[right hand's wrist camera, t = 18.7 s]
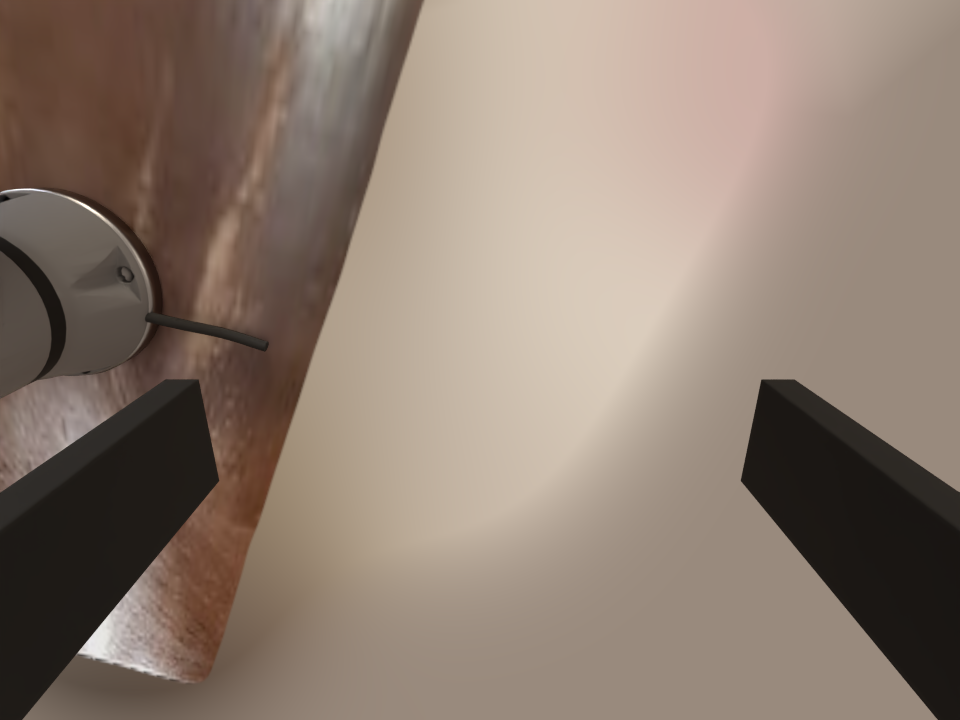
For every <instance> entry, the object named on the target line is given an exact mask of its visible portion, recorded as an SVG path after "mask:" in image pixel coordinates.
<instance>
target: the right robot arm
mask: <svg viewBox="0 0 960 720" xmlns="http://www.w3.org/2000/svg"><path fill="white" fill-rule="evenodd" d="M161 312H162V291H161V285H160V281H159V277H158V274H157V271H156V268H155V266H154V263H153V261H152V259H151V257H150V255H149V253H148V252H147V250H146V248H145V247H144V245H143V244H142V242H141V241H140V240H139V238H138V237H137V236H136V235H135V233H134V232H133V231H132V230H131V229H130V228H129V227H128V226H127V225H126V224H125V223H124V222H123V221H122V220H121V219H120V218H119V217H117V216H116V215H115V214H113V213H112V212H111V211H109V210H108V209H106V208H105V207H103V206H102V205H100V204H98V203H97V202H95V201H93V200H91V199H89V198H86V197H84V196H82V195H79V194H76V193H73V192H69V191H65V190H60V189H54V188H28V189H13V190H7V191H3V192H0V398H2V397H4V396H6V395H8V394H10V393H12V392H14V391H16V390H18V389H20V388H22V387H24V386H26V385H28V384H30V383H32V382H34V381H36V380H41V379H48V378H53V377H57V376H80V375H91V374H97V373H101V372H104V371H107V370H110V369H112V368H114V367H116V366H118V365H120V364H122V363H124V362H125V361H127V360H129V359H131V358H132V357H134V356H136V355H137V354H138V353H139V352H141V351H142V350H143V349H144V348H145V347H146V346H147V345H148V343H149V342H150V341H151V339H152V338H153V336H154V334H155V332H156V330H157V328H158V325H162V326H167V327H171V328H176V329H180V330H185V331H190V332H195V333H200V334H205V335H210V336H215V337H219V338H223V339H227V340H230V341H234V342H237V343H240V344H243V345H246V346H249V347H252V348H255V349H258V350H262V351H266V350H267V348H268V342H267V341H264V340H261V339H258V338H255V337H252V336H249V335H246V334H242V333H239V332H236V331H232V330H229V329H225V328H221V327H217V326H213V325H208V324H203V323H198V322H193V321H188V320H184V319H179V318H175V317H170V316H166V315H162V314H161ZM218 482H219V477H218V473H217V468H216V463H215V458H214V453H213V448H212V443H211V438H210V433H209V429H208V424H207V419H206V414H205V409H204V404H203V399H202V394H201V389H200V384H199V380H164V381H163V382H161V383H160V384H158V385H157V386H156V387H154V388H153V389H151V390H150V391H148V392H147V393H145V394H144V395H142V396H141V397H139V398H138V399H137V400H135V401H134V402H132V403H131V404H129V405H128V406H126V407H125V408H123V409H122V410H120V411H119V412H118V413H116V414H115V415H113V416H112V417H110V418H109V419H107V420H106V421H104V422H103V423H101V424H100V425H99V426H97V427H96V428H94V429H93V430H91V431H90V432H88V433H87V434H85V435H84V436H82V437H81V438H80V439H78V440H77V441H75V442H74V443H72V444H71V445H69V446H68V447H66V448H65V449H63V450H62V451H61V452H59V453H58V454H56V455H55V456H53V457H52V458H50V459H49V460H47V461H46V462H44V463H43V464H42V465H40V466H39V467H37V468H36V469H34V470H33V471H31V472H30V473H28V474H27V475H26V476H24V477H23V478H21V479H20V480H18V481H17V482H15V483H14V484H12V485H11V486H9V487H8V488H7V489H5V490H4V491H2V492H1V493H0V720H22V719H23V718H24V717H25V716H26V714H27V713H28V712H29V711H30V710H31V708H32V707H33V706H34V705H35V703H36V702H37V701H38V700H39V699H40V697H41V696H42V695H43V694H44V693H45V691H46V690H47V689H48V688H49V687H50V685H51V684H52V683H53V682H54V681H55V679H56V678H57V677H58V676H59V674H60V673H61V672H62V671H63V670H64V668H65V667H66V666H67V665H68V664H69V662H70V661H71V660H72V659H73V657H74V656H75V655H76V654H77V653H78V651H79V650H80V649H81V648H82V647H83V645H84V644H85V643H86V642H87V640H88V639H89V638H90V637H91V636H92V634H93V633H94V632H95V631H96V630H97V628H98V627H99V626H100V625H101V624H102V622H103V621H104V620H105V619H106V617H107V616H108V615H109V614H110V613H111V611H112V610H113V609H114V608H115V607H116V605H117V604H118V603H119V602H120V600H121V599H122V598H123V597H124V596H125V594H126V593H127V592H128V591H129V590H130V588H131V587H132V586H133V585H134V583H135V582H136V581H137V580H138V579H139V577H140V576H141V575H142V574H143V573H144V571H145V570H146V569H147V568H148V567H149V565H150V564H151V563H152V562H153V560H154V559H155V558H156V557H157V556H158V554H159V553H160V552H161V551H162V550H163V548H164V547H165V546H166V545H167V543H168V542H169V541H170V540H171V539H172V537H173V536H174V535H175V534H176V533H177V531H178V530H179V529H180V528H181V526H182V525H183V524H184V523H185V522H186V520H187V519H188V518H189V517H190V516H191V514H192V513H193V512H194V511H195V509H196V508H197V507H198V506H199V505H200V503H201V502H202V501H203V500H204V499H205V497H206V496H207V495H208V494H209V493H210V491H211V490H212V489H213V488H214V486H215V485H216V484H217V483H218ZM741 482H742V483H743V484H744V485H745V486H746V488H747V489H748V490H749V491H750V493H751V494H752V495H753V496H754V497H755V499H756V500H757V501H758V502H759V503H760V505H761V506H762V507H763V508H764V509H765V511H766V512H767V513H768V514H769V516H770V517H771V518H772V519H773V520H774V522H775V523H776V524H777V525H778V526H779V528H780V529H781V530H782V531H783V533H784V534H785V535H786V536H787V537H788V539H789V540H790V541H791V542H792V543H793V545H794V546H795V547H796V548H797V550H798V551H799V552H800V553H801V554H802V556H803V557H804V558H805V559H806V560H807V562H808V563H809V564H810V565H811V567H812V568H813V569H814V570H815V571H816V573H817V574H818V575H819V576H820V577H821V579H822V580H823V581H824V582H825V583H826V585H827V586H828V587H829V588H830V590H831V591H832V592H833V593H834V594H835V596H836V597H837V598H838V599H839V600H840V602H841V603H842V604H843V605H844V607H845V608H846V609H847V610H848V611H849V612H850V614H851V615H852V616H853V617H854V619H855V620H856V621H857V622H858V623H859V625H860V626H861V627H862V628H863V630H864V631H865V632H866V633H867V634H868V636H869V637H870V638H871V639H872V640H873V642H874V643H875V644H876V645H877V647H878V648H879V649H880V650H881V651H882V653H883V654H884V655H885V656H886V657H887V659H888V660H889V661H890V662H891V664H892V665H893V666H894V667H895V668H896V670H897V671H898V672H899V673H900V674H901V676H902V677H903V678H904V679H905V680H906V682H907V683H908V684H909V685H910V687H911V688H912V689H913V690H914V691H915V693H916V694H917V695H918V696H919V697H920V699H921V700H922V701H923V702H924V704H925V705H926V706H927V707H928V708H929V710H930V711H931V712H932V713H933V714H934V716H935V717H936V718H937V719H938V720H960V492H958V491H956V490H955V489H953V488H952V487H951V486H949V485H948V484H946V483H945V482H943V481H942V480H940V479H939V478H937V477H936V476H934V475H933V474H932V473H930V472H929V471H927V470H926V469H924V468H923V467H921V466H920V465H918V464H917V463H915V462H914V461H913V460H911V459H910V458H908V457H907V456H905V455H904V454H902V453H901V452H899V451H898V450H897V449H895V448H894V447H892V446H891V445H889V444H888V443H886V442H885V441H883V440H882V439H880V438H879V437H877V436H876V435H875V434H873V433H872V432H870V431H869V430H867V429H866V428H864V427H863V426H861V425H860V424H859V423H857V422H856V421H854V420H853V419H851V418H850V417H848V416H847V415H845V414H844V413H842V412H841V411H839V410H838V409H837V408H835V407H834V406H832V405H831V404H829V403H828V402H826V401H825V400H823V399H822V398H821V397H819V396H817V395H816V394H815V393H813V392H812V391H810V390H809V389H807V388H806V387H804V386H803V385H802V384H800V383H799V382H797V381H796V380H761V384H760V389H759V394H758V399H757V404H756V409H755V414H754V419H753V424H752V429H751V433H750V438H749V443H748V448H747V453H746V458H745V463H744V468H743V473H742V478H741Z"/></svg>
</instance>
